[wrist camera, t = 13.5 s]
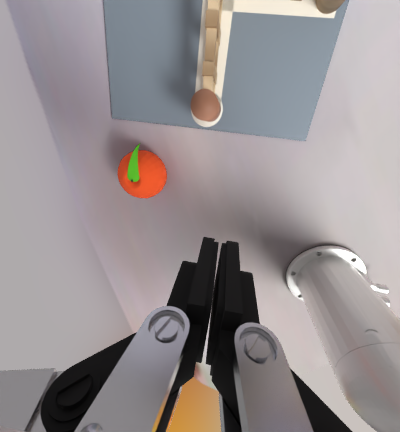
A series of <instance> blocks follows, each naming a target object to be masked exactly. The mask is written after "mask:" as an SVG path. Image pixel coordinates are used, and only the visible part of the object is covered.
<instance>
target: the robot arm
mask: <svg viewBox="0 0 400 432" xmlns="http://www.w3.org/2000/svg"><path fill="white" fill-rule="evenodd" d="M214 240H215V239H213V238H207V237H204V238H203V241H202V245H201V249H200V253H199V257H198V262H197V263H193V262H188V261H183V262H182V264H181V267H180V270H179V273H178V276H177V278H176V281H175V284H174V287H173V289H172V292H171V295H170V298H169V300H168V303H167V306H163V307H160V308H157V309H155V310H154V311H152V312H151V313H150V314H149V315H148V316H147V318H146V319H145V321H144V322H143V324H142V325H141V327H140V328H139V330H138V332H136V333H134V334H132V335H130V336H129V337H127V338H125V339H123V340H121V341H119V342H117V343H115V344H113V345H111V346H109V347H108V348H106V349H104V350H102V351H100V352H98V353H96V354H94V355H93V356H91V357H89V358H87V359H85V360H83V361H81V362H79V363H77V364H75V365H74V366H72V367H70V368H69V369H67V370H66V371H59V372H56V369H55V368H51V369H30V370H9V371H0V432H168V430H169V426H170V423H171V420H172V417H173V414H174V411H175V408H176V405H177V402H178V399H179V395H180V392H181V389H182V385H184V384H185V383H186V382H187V381H189V380H190V379H191V378H192V377H194V370H195V364H196V362H199V363H201V362H202V357H203V351H204V346H205V340H206V335H207V329H208V324H209V319H210V313H211V319H210V328H209V338H208V347H207V356H206V364H208V365H211V371H210V375H212V382H213V383H214V385H215V387H216V388H217V390H218V391H219V405H220V420H221V432H352V431H351V430H350V429H349V428H348V427H347V426H346V425H345V424H344V423H343V422H342V421H341V420H340V419H339V418H338V417H337V416H336V415H335V414H334V413H333V412H332V411H331V409H330V408H328V406H327V405H326V404H325V403H324V402H323V401H322V400H321V399H320V398H319V397H318V396H317V395H316V394H315V393H314V392H313V391H312V390H311V389H310V388H309V387H308V386H307V385H306V384H305V383H304V382H303V381H302V380H301V379H300V378H299V377H298V376H297V375H296V374H295V373H294V372H293V371H292V370H291V369H290V367H289V364H288V362H287V359H286V356H285V354H284V351H283V348H282V346H281V344H280V342H279V340H278V338H277V337H276V336H275V335H274V333H273V332H272V331H270V330H269V329H268V328H267V327H265V326H263V325H261V324H260V322H259V315H258V309H257V302H256V295H255V288H254V281H253V275H252V273H250V272H244V271H240V260H239V244H238V242H232V241H227V242H226V244H225V243H222V246H221V251H220V257H219V262H218V268H217V273H216V279H215V271H216V262H217V253H218V243H219V242H214ZM366 275H367V271H366V267H365V265H364V263H363V261H362V260H361V259H360V258H359V257H358V256H357V255H356V254H355V253H354V252H352V251H350V250H348V249H346V248H343V247H339V246H319V247H315V248H312V249H309V250H307V251H305V252H303V253H301V254H300V255H298V256H297V257H296V258H295V259H294V260H293V261H292V262H291V264H290V265H289V267H288V269H287V273H286V281H287V284H288V287H289V289H290V291H291V292H292V294H293V295H294V296H295V297H297V298H298V299H300V300H302V301H303V302H304V303H305V305H306V307H307V310H308V312H309V314H310V317H311V319H312V322H313V324H314V326H315V329H316V331H317V334H318V336H319V338H320V341H321V343H322V346H323V348H324V350H325V353H326V355H327V358H328V360H329V362H330V365H331V367H332V369H333V372H334V374H335V377H336V379H337V382H338V384H339V386H340V389H341V391H342V393H343V395H344V396H345V398H346V400H347V401H348V403H349V404H350V406H351V407H352V408H353V410H355V412H356V413H357V414H358V415H359V416H360V417H361V418H362V419H363V420H364V421H365V422H366V423H367V424H368V425H370V426H371V427H372V428H373V429H374V430H376V431H377V432H400V319H399V318H398V316H397V315H396V314H395V313H394V312H393V311H392V310H391V308H390V300H389V299H388V298H387V297H386V296H381V295H378V294H377V293H382V294H387V293H388V291H389V289H388V287H387V286H386V285H381V284H373V283H372V282H371V281H370V280H369V279H368V277H367V276H366ZM214 280H215V285H214ZM213 289H214V291H213ZM212 299H213V300H212ZM211 307H212V310H211Z"/></svg>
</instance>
